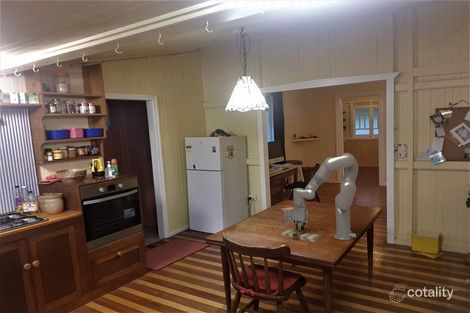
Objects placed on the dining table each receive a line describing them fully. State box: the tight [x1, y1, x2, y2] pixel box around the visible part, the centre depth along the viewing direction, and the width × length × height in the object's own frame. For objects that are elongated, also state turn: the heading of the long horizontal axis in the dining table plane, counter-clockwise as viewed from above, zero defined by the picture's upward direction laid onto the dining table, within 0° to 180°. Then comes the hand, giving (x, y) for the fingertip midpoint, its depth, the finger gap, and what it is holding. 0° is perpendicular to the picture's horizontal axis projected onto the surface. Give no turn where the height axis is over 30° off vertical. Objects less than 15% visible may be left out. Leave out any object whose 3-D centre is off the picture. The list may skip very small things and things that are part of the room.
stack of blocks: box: [280, 206, 310, 225], centre depth 276 cm, size 21×6×12 cm, turn 101°
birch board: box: [281, 229, 322, 243], centre depth 240 cm, size 26×10×2 cm, turn 50°
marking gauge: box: [291, 221, 308, 240], centre depth 240 cm, size 5×14×10 cm, turn 140°
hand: (300, 230), depth 240 cm, fingers closed on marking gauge, 3 cm apart
